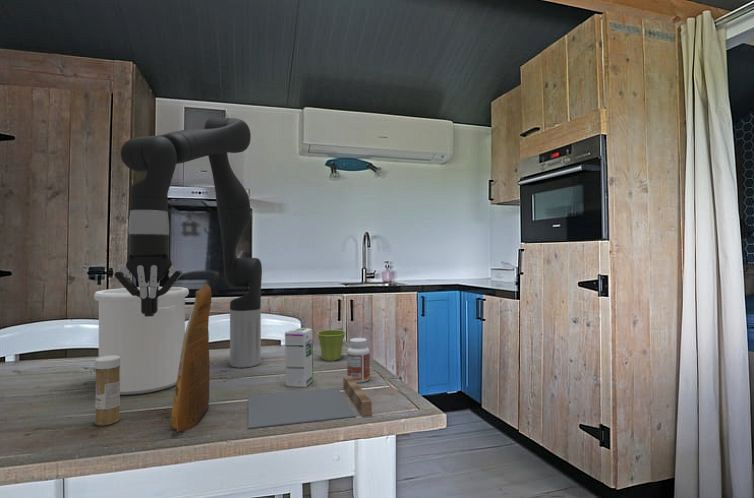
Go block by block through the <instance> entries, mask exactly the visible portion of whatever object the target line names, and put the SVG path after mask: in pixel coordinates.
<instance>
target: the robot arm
mask: <svg viewBox="0 0 754 498" xmlns="http://www.w3.org/2000/svg"><path fill="white" fill-rule="evenodd" d="M251 136H252V135H251V130H250V127H249V125H248V124H247V122H245V120H242V119H239V118H236V117H235V118H234V117H216V116H214V117H210V118H208V119H207V120H206V121H205V123H204V128H195V129H194V128H193V129H182V130H177V131H171V132H168V133H164V134H161V135H150V136H140V137H133V138H129V139H128V140H127V141H125V142H124V143H123V144H122V147H121V148H120V159H121V161H122V163H123V164H124V165H125V166H126V168H128V169H130V170H131V171H134V172H137V173H145V172H146V173H145V177H144V178H143V179H142V180H140V181H137V182H135V183H133V184H131V186H130V191H129V218H128V226H127V229H128V230H127V232H128V259H127V261H126V263H125V267H123V268H122V269H121V270H119V271H116V272H115V273H114V277H115V279H117V281H119V283H120V284H121V285H122V286H123V288H126V289H127V290H128V292H129V293H130V294H131V295H132V296H138V297H140V298H141V312H142V314H145V317H150V316H154V313H157V311H158V297H159V296H161V295H164V294H166V293H167V292H168V291H169V289H170V288H171V287H174V285H175V284H176V282H177V281H179V280H178V279H180V277H182V275H183V271H181V270H178V269H177V268H176V267H174V266H173V264H172V261H171V259H170V218H169V195H168V194H169V190H170V186H171V184H172V179H173V177H174V173H175V171H176V165H178V164H183V163H187V162H190V161H194V160H197V159H200V158H203V157H204V158H205V157H208V160H209V165H210V168H211V174H212V180H213V185H214V186H213V187H214V193H215V201H216V202H215V203H216V209H217V210H216V211H217V218H218V223H219V227H220V235H221V243H222V254H223V255H222V257H223V274H224V275H223V276H224V280H225V283H226V285H227V286H228V287H230V288H248V291H247V293H245V294H244V295H242V296H240V297H237V298H234V299H232V300H231V301H230V303H229V366H230V367H232V368H250V367H251V368H252V367H255V366H258V365H261V363H262V359H261V357H262V356H261V355H262V354H261V351H262V349H261V348H262V347H261V346H262V344H261V341H262V340H261V339H262V338H261V337H262V335H261V333H262V327H261V326H262V323H261V321H262V318H261V317H262V313H261V312H262V311H261V307H262V305H261V302H262V280H263V279H262V278H263V277H262V276H263V266H262V262H261V259H259V258H258V257H237V247H238V244H239V242H240V240H241V238H242V236H243V235H244V234H245V231H246V230H247V229H248V227H249V224H250V222H251V218H252V214H251V203H250V196H249V194H248V192H247V191H246V189H245V187H244V185H243V184H242V182H241V181H240V180H239V179H238V177H237V176H236V174H235V172H233V169H232V167H231V164H230V159H229V157H228V154H229V153H230V154H237V153H242V152H245V151H246V150H247V149H248V148H249V145H250V144H251V139H252V137H251ZM168 271H169V272H168ZM167 273H168V279H167V281H166V282H165V283H164V284H163V286H161V287H162V288H161V289H160V290H159V287H160V283H161V282H160V281H162V280H163V278H164V277H165V275H167ZM131 275H132V276H133V278H134V279H135V280H136V281H138V286H136V284H134V282H133V281H132V280H131V279H130V277H131ZM138 287H139V288H140V290H139V289H138ZM149 287H150V294H149ZM149 296H150V298H149Z"/></svg>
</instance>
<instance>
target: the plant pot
mask: <svg viewBox="0 0 754 498" xmlns="http://www.w3.org/2000/svg"><path fill="white" fill-rule="evenodd" d="M316 335H317V337H318V339H319V345H320V346H319V347H320V351H321V352H320V353H321V359H322V360H324V361H327V362H335V361H336V360H338V361H339V360H341V359H342V352H343V351H342V350H343V344H344V339H345V335H346V331H345V330H341V329H325V330H320V331H318V332H316Z"/></svg>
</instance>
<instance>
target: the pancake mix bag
mask: <svg viewBox="0 0 754 498" xmlns="http://www.w3.org/2000/svg"><path fill="white" fill-rule="evenodd" d="M211 305H212V288H211V286H210V285H209V284H208V283H205V284H204V285H203V286H202V287H201V288H200V289H198V290H196V291H195V300H194V304H193V307H192V309H191V312H190V315H189V318H188V321H187V325H186V327H185V335H184V340H183V347H182V351H181V357H180V364H179V370H178V377H177V383H176V385H175V390H174V398H173V404H172V410H171V429H172V430H176V432H177V433H178V432H183V431H187V430H190V429H192V428H194V427H196V426H197V425H198V423H199V422H200V420H201V419H202V418H203V416H204V415H205V413H206V412H207V411H208V409H209V407H210V405H209V404H210V376H211V375H210V374H211V373H210V370H211V369H210V367H211V366H210V346H209V344H210V342H209V341H210V338H209V336H210V335H209V333H210V332H209V317H210V312H211Z"/></svg>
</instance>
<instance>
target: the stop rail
mask: <svg viewBox="0 0 754 498" xmlns="http://www.w3.org/2000/svg"><path fill="white" fill-rule="evenodd" d="M342 379H343V381H342V382H343V386H342V388H343V390H344V391H345V393H346V394H347V396H348V397H349V399H350V400H351V401H352V403H353V405H354V406H355V408H356V409H357V410H358V412H359V413H360V415H361V416H362V417H369V416H372V413H373V411H372V407H373V405H372V403H373V402H372V401H371V399H370V398H369V396H368V395H367V394H366V393H365V392H364V390H363V389H362V388H361V386H360V385H359V384H358V383H356V382H355V380H354V379H353V378H352V377H351V376H347V375H346V376H342Z"/></svg>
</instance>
